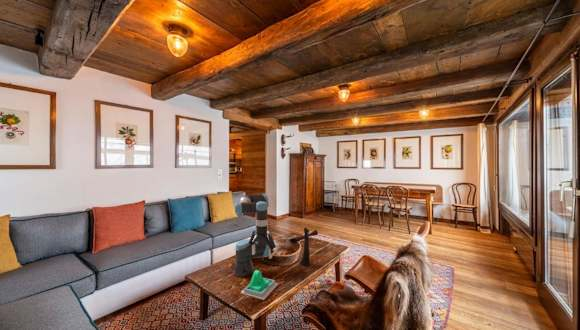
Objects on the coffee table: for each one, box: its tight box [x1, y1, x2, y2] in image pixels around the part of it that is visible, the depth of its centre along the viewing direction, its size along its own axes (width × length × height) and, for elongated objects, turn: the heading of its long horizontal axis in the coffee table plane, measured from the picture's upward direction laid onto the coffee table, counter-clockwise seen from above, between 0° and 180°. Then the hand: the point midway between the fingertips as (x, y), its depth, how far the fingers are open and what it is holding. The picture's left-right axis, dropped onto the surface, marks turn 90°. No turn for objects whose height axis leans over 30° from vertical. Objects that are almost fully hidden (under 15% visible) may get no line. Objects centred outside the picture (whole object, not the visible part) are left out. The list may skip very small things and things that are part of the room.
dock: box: [240, 276, 279, 301], centre depth 149 cm, size 17×18×3 cm
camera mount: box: [248, 269, 270, 291], centre depth 149 cm, size 12×8×10 cm, turn 145°
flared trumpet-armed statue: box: [289, 227, 319, 267], centre depth 185 cm, size 31×10×30 cm, turn 135°
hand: (262, 256), depth 153 cm, fingers open, 13 cm apart
